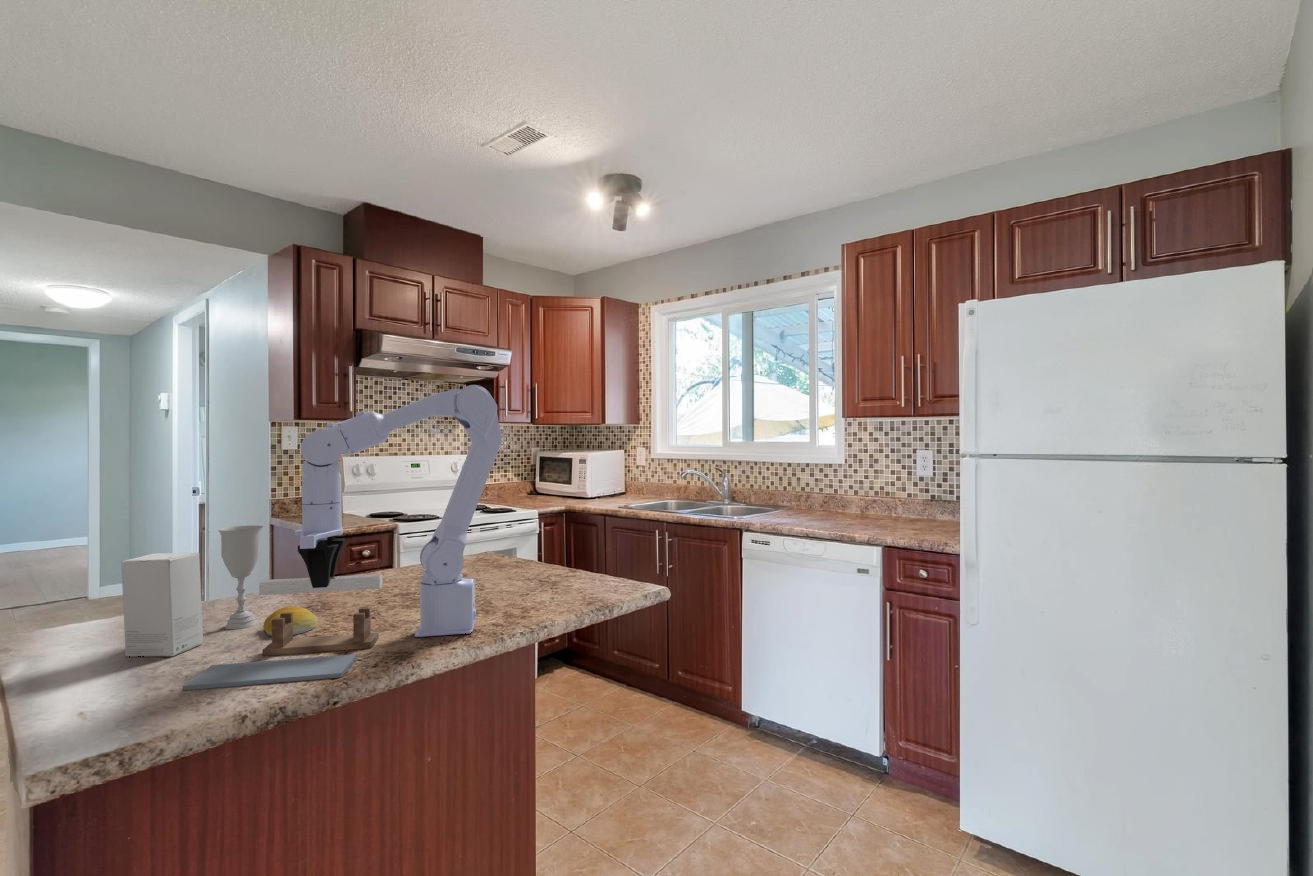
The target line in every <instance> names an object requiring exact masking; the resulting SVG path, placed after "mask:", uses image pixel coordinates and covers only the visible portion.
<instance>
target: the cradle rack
mask: <svg viewBox="0 0 1313 876" xmlns="http://www.w3.org/2000/svg"><path fill="white" fill-rule="evenodd" d="M352 616H353V617H352V618H353V619H352V621H353V626H352V630H353V631H352V632H353V634H351V633H350V634H339V635H337V634H336V635H325V636H311V637H309V636H307V637H297V638H295V637H294V635H293V612H286V613H281V614H280V618H274V619H272V636H271V642H270V643H269V644H268V645H266V646H265V647H264V648H263V649H262V657H267V656H278V655H279V656H280V655H293V654H294V655H295V654H310V653H319V652H320V653H323V652H336V651H346V650H347V651H348V650H349V651H350V650H361V649H372V647H374V645H375V644H376V642H378V640H379V637H380V634H379V632H371V607H359V609H358V613H354V614H353V615H352Z"/></svg>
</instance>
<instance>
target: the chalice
mask: <svg viewBox="0 0 1313 876" xmlns="http://www.w3.org/2000/svg"><path fill="white" fill-rule="evenodd" d="M263 528H264V525H238V526H237V525H235V526H226V527H221V528H218V529H217V531H218V532H219V534H220V536H221V538H220V541H221V543H220V547H221V549H220V551H221V553H220V555H221V558H222V560H223V563H224V566H225V567H226V569H227V571H228V572H229V574H230V577H232V578H234V579H237V588H236V589H235V590H236V591H237V594H238V595H237V597H236V599H235V601H236V602H237V604H238V606H237V609H236V610H235V612H233V613H232V612H231V614H230V616H228V617H229V618H228V620H227V621H226V624H225V625H224V626H225V627H224V628H225V629H226V630H241V629H245V628H249V627H250V628H251V627H253V626H255V625H257V624H258V621H257V620H256V617H255V615H254V612H252V611H251V610H247V608H246V607H245V602H246V600H247V597H246V596H245V591H246V589H247V587H246V584H245V578H248V577H249V576H251V574H252V572H253V570H254V568H255V566H256V564H257V562H258V560H259V557H260V554H261V532H262V530H263Z"/></svg>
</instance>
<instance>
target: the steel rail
mask: <svg viewBox="0 0 1313 876" xmlns="http://www.w3.org/2000/svg"><path fill="white" fill-rule="evenodd" d="M258 583H259V585H258V589H259V590H258V595H259V596H268V595H285V594H307V593H326V592H343V591H344V592H346V591H358V590H361V591H362V590H379V589H381V588H382V587H383V574H382V573H381V574H380V573H379V574H359V575H358V574H357V575H338V576H335V575H334V577H330V579H329V583H328V586H327V587H323V588H313V587H312V584H311V581H310V577H302V578H301V577H299V578H298V577H297V578H276V579H263V580H262V581H260V582H258Z"/></svg>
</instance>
